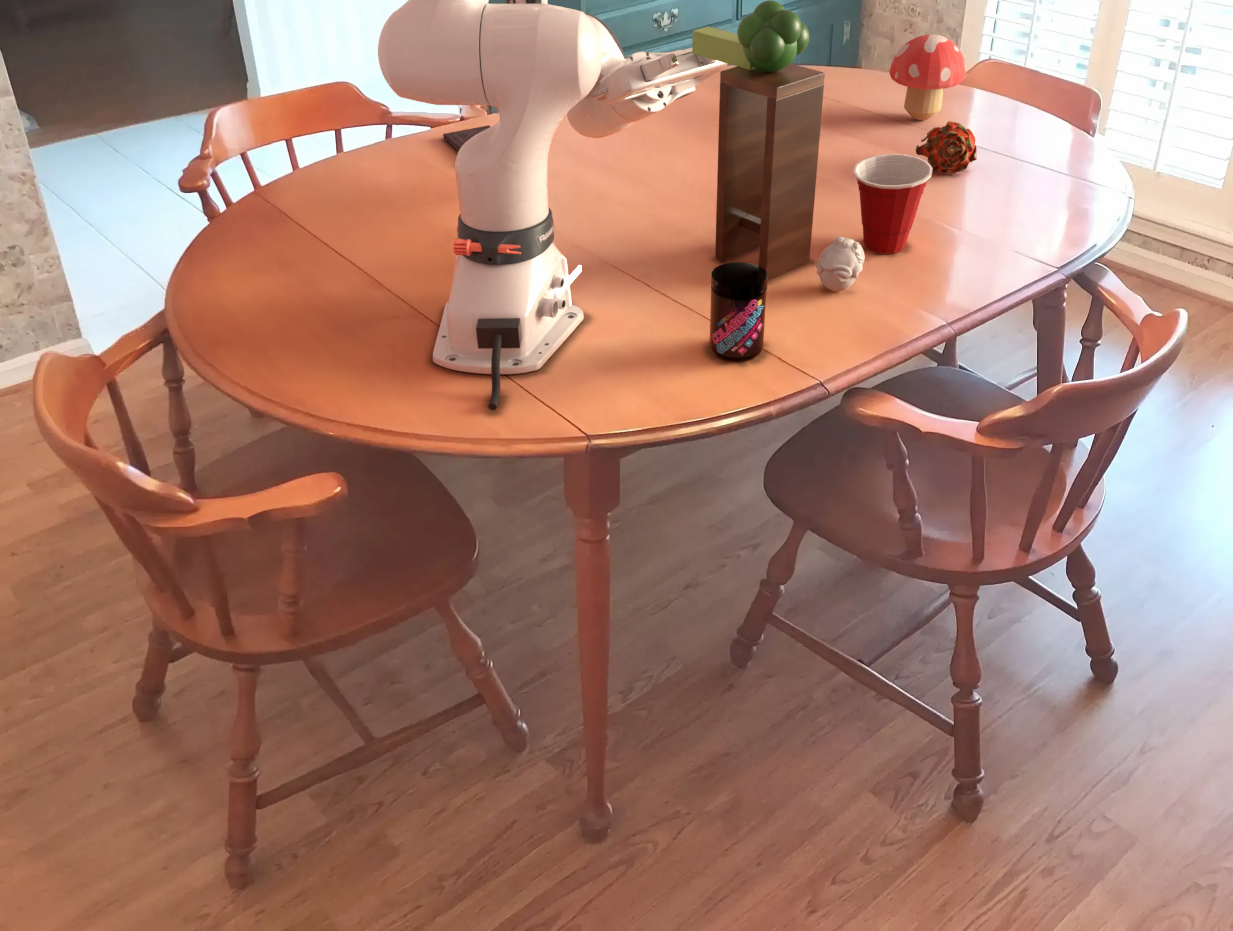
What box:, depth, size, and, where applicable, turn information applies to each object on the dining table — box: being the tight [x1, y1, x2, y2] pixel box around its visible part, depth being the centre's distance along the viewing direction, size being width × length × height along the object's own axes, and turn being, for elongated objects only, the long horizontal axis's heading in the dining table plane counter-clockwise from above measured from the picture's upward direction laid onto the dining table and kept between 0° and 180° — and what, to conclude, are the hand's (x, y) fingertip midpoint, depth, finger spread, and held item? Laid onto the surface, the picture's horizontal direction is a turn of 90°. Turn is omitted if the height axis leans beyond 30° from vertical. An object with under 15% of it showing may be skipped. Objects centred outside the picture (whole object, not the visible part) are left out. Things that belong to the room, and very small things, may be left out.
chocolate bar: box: [443, 124, 491, 153], centre depth 196 cm, size 9×1×18 cm
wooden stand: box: [714, 62, 826, 282], centre depth 149 cm, size 10×9×26 cm
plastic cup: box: [852, 153, 933, 255], centre depth 156 cm, size 11×11×12 cm
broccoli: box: [691, 0, 810, 72], centre depth 141 cm, size 17×9×8 cm, turn 40°
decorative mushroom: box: [888, 34, 967, 121], centre depth 199 cm, size 13×13×15 cm
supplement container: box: [709, 261, 768, 363], centre depth 133 cm, size 7×7×10 cm
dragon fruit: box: [915, 120, 978, 176], centre depth 181 cm, size 8×8×12 cm
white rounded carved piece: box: [815, 236, 866, 292], centre depth 147 cm, size 6×7×7 cm
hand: (698, 52), depth 150 cm, fingers open, 8 cm apart
